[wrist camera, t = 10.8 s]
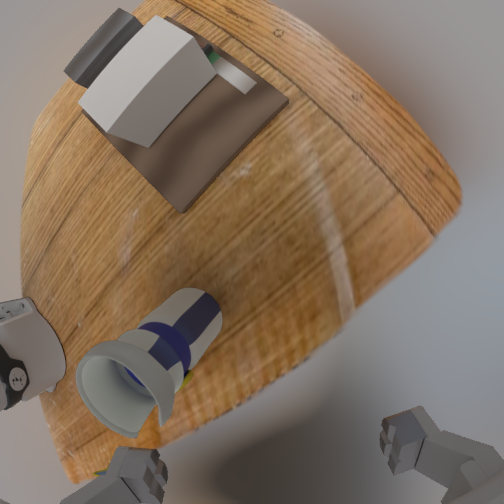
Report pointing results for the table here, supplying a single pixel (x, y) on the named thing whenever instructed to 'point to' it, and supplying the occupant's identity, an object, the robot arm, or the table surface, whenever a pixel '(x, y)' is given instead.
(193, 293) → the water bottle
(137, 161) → the gauge stand
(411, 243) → the table surface
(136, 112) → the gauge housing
